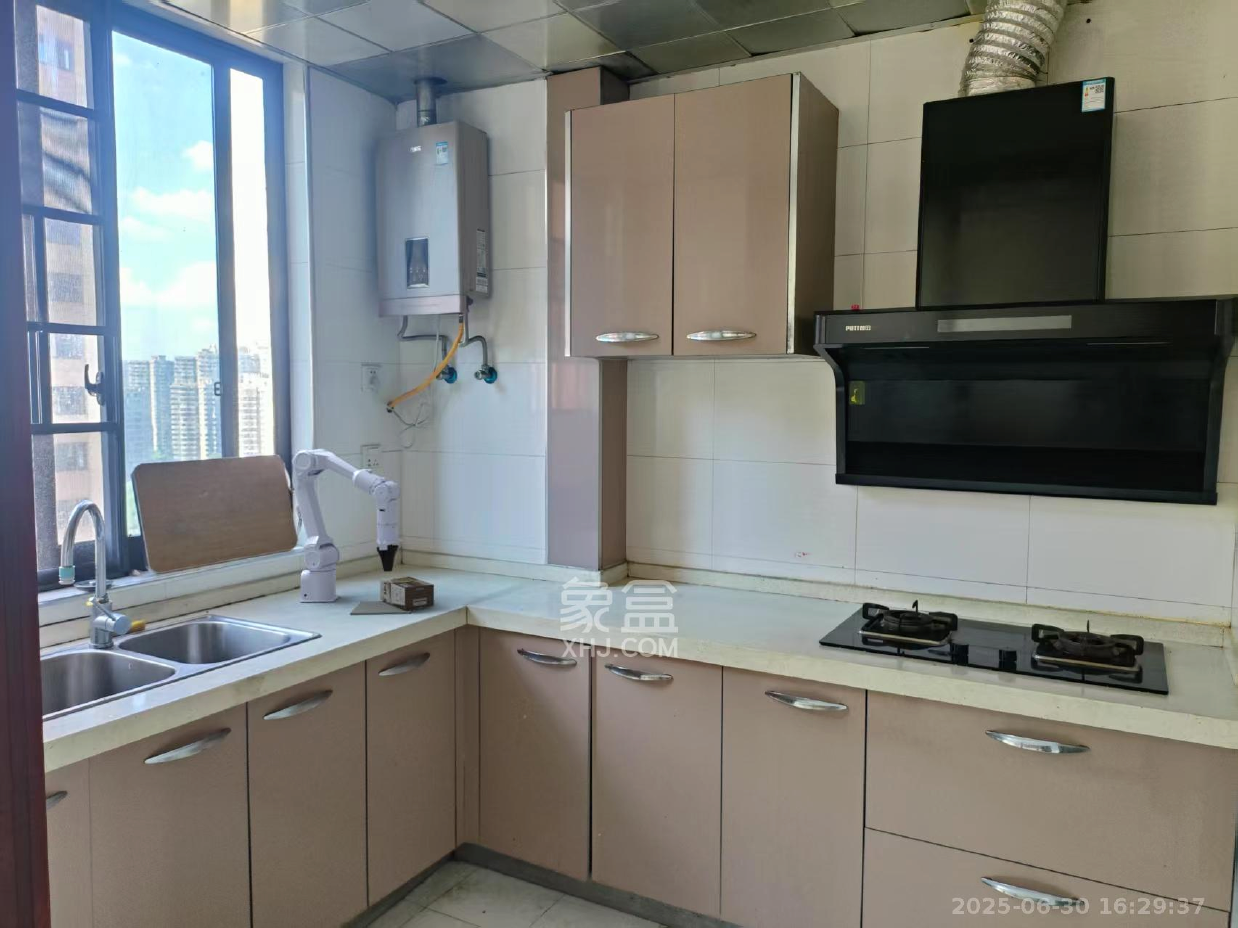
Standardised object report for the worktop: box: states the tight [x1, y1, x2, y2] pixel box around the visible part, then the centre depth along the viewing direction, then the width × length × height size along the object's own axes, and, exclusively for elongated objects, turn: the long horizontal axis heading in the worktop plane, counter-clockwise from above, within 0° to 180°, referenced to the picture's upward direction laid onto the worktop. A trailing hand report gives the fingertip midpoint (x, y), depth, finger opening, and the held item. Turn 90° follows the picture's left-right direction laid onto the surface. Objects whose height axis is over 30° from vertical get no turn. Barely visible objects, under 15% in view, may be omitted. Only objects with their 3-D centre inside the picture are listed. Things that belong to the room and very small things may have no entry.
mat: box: [349, 600, 414, 616], centre depth 239 cm, size 16×14×1 cm
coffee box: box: [379, 575, 435, 611], centre depth 243 cm, size 9×6×16 cm
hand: (388, 571), depth 245 cm, fingers closed
